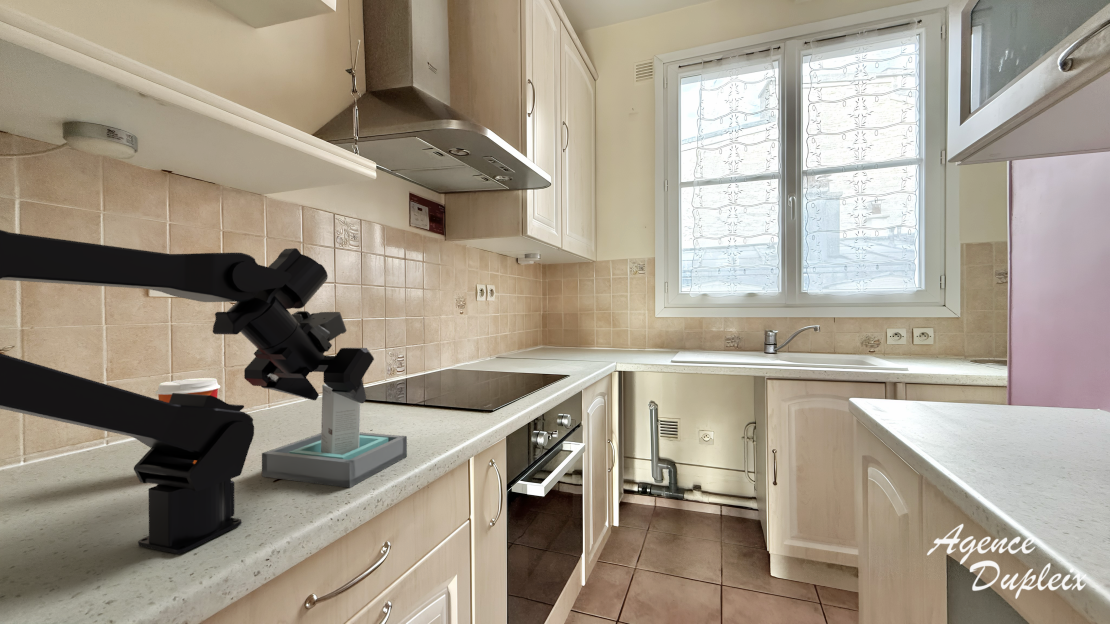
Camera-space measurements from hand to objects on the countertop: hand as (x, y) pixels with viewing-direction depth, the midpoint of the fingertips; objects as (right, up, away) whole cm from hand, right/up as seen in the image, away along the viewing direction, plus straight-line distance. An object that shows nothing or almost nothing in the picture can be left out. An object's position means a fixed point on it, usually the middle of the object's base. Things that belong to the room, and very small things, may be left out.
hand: (339, 399), depth 67 cm
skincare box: (0, -10, 0) cm, 10 cm away
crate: (0, -11, 0) cm, 11 cm away
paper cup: (-23, -11, -1) cm, 26 cm away
